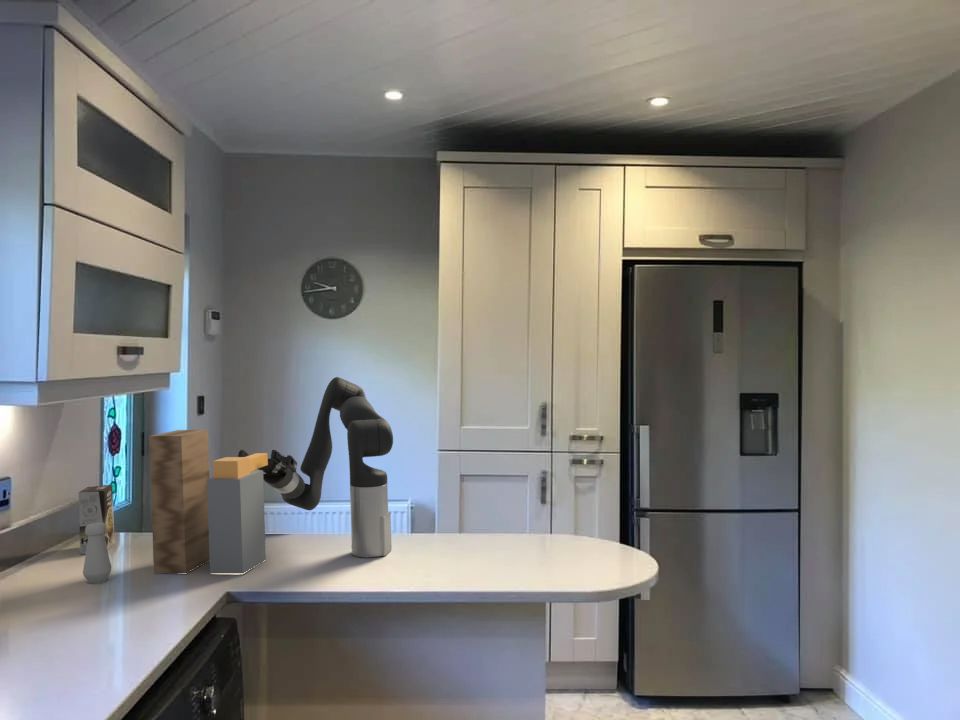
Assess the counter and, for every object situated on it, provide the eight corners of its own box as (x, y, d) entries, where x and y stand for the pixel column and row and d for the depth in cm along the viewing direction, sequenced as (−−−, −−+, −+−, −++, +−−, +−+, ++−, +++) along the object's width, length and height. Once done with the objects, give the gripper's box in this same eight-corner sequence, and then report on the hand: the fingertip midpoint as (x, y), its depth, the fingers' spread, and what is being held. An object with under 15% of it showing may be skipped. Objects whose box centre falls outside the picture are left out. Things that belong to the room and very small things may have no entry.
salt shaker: (84, 579, 169) (82, 522, 169) (112, 575, 172) (110, 519, 172) (82, 586, 164) (80, 527, 164) (111, 582, 167) (109, 524, 166)
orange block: (273, 464, 189) (272, 449, 189) (238, 478, 170) (237, 461, 170) (251, 464, 190) (250, 449, 190) (213, 478, 171) (213, 461, 171)
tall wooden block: (212, 559, 183) (208, 429, 182) (185, 574, 171) (181, 435, 171) (182, 558, 184) (177, 430, 184) (153, 573, 172) (149, 436, 172)
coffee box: (106, 552, 192) (104, 490, 191) (79, 554, 190) (77, 492, 190) (115, 543, 201) (113, 484, 200) (89, 545, 199) (87, 485, 199)
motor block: (265, 560, 181) (263, 470, 181) (242, 575, 169) (239, 479, 169) (235, 559, 182) (232, 470, 182) (210, 574, 170) (207, 479, 170)
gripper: (258, 462, 203) (233, 439, 189) (308, 462, 201) (286, 439, 187) (253, 488, 200) (226, 467, 185) (303, 489, 197) (280, 467, 183)
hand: (256, 453), depth 186 cm, fingers open, 8 cm apart
